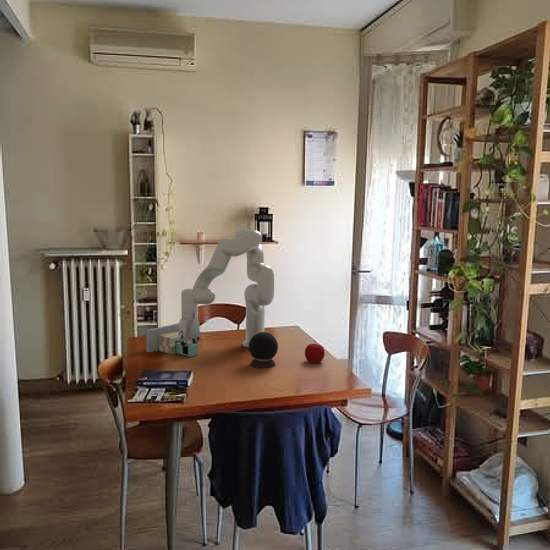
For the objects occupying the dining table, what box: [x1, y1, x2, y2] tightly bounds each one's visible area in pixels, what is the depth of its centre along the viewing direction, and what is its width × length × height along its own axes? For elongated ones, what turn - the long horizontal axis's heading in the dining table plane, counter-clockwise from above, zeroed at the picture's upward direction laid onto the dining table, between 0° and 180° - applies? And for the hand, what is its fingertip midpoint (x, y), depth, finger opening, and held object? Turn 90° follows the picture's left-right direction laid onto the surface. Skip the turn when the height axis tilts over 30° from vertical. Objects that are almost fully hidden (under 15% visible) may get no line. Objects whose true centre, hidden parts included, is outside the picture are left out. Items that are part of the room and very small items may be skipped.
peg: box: [175, 341, 199, 358], centre depth 255 cm, size 14×5×5 cm, turn 52°
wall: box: [145, 322, 179, 353], centre depth 263 cm, size 2×22×11 cm, turn 141°
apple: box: [304, 340, 326, 364], centre depth 245 cm, size 9×9×10 cm
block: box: [159, 331, 190, 355], centre depth 259 cm, size 9×11×8 cm
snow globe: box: [248, 331, 279, 369], centre depth 239 cm, size 13×13×15 cm
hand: (189, 352), depth 253 cm, fingers closed on peg, 5 cm apart
